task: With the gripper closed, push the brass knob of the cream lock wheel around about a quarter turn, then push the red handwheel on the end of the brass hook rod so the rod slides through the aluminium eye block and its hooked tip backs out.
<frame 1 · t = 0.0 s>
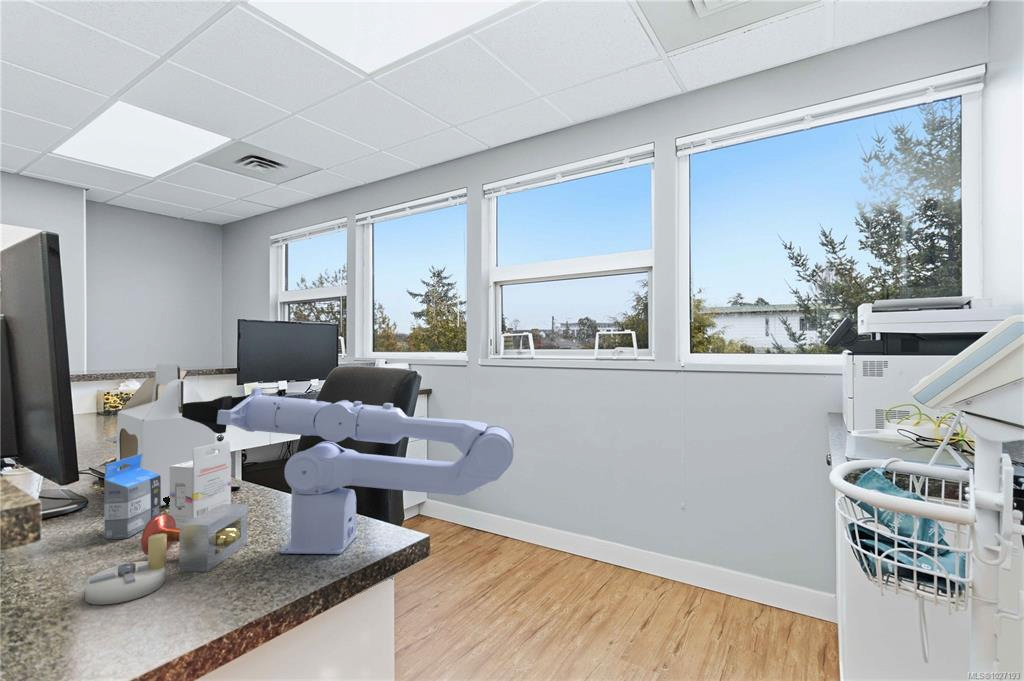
hand: (200, 407, 80), 22 cm above the table, tool horizontal, fingers open, 7 cm apart
eye block: (215, 556, 74), on the table
hook rod: (197, 535, 74), point 3 cm above the table, slide at 0.0 cm
lock wheel: (127, 565, 64), point 3 cm above the table, hinge at 0.0°
ink cartridge box: (200, 529, 86), on the table
label tape box: (133, 531, 85), on the table
gable box: (164, 493, 108), on the table
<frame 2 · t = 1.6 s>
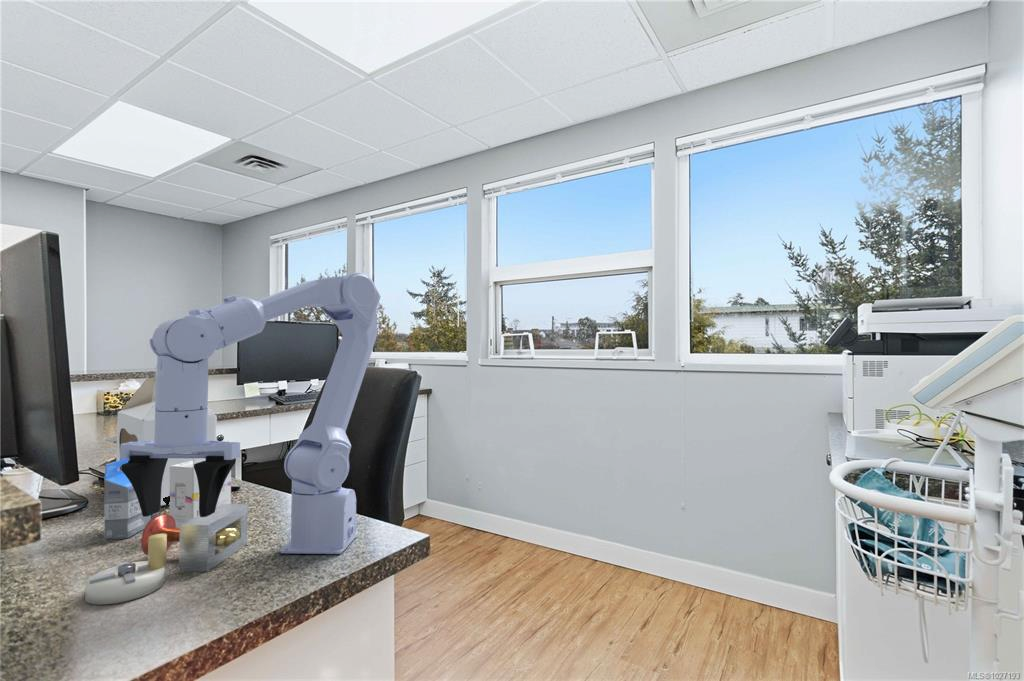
hand: (179, 514, 64), 9 cm above the table, tool pointing down, fingers open, 7 cm apart
nothing on the table moved.
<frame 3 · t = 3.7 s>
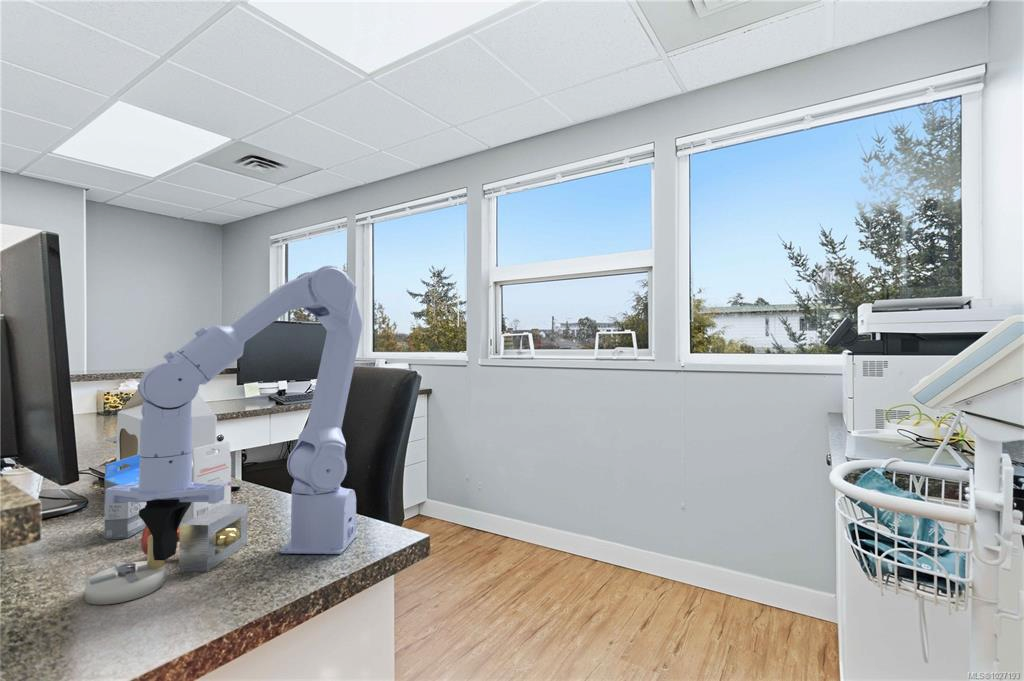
hand: (164, 557, 65), 3 cm above the table, tool pointing down, fingers closed, pressing on lock wheel
lock wheel: (127, 565, 64), point 3 cm above the table, hinge at 5.4°, touching gripper
everything else where it was.
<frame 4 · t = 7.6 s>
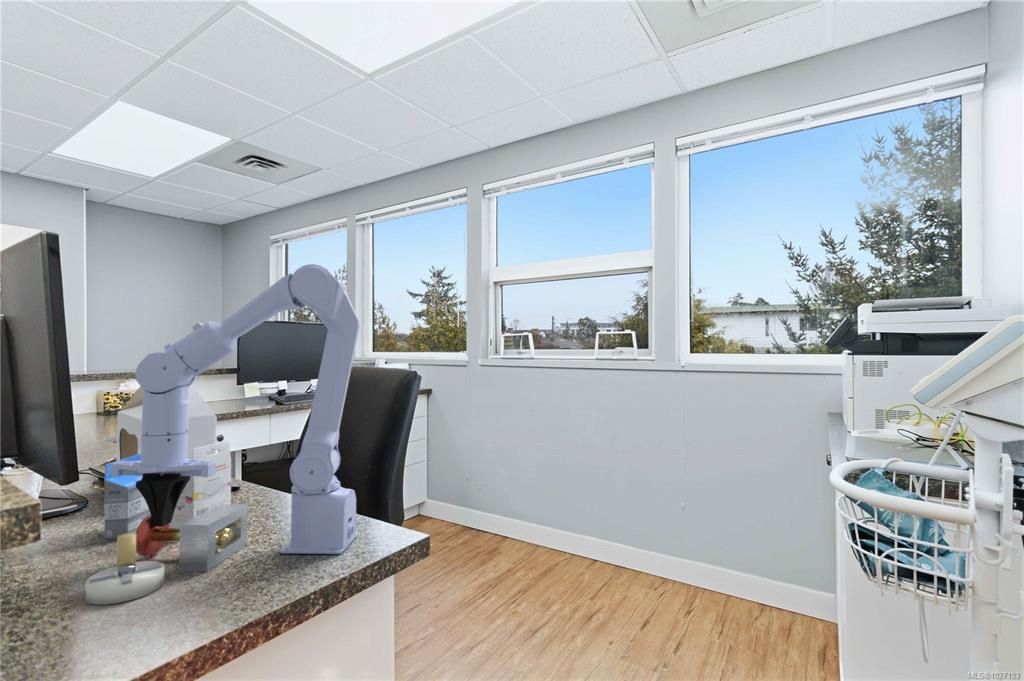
hand: (162, 524, 74), 5 cm above the table, tool pointing down, fingers closed
hook rod: (190, 535, 74), point 3 cm above the table, slide at 1.1 cm, touching gripper
lock wheel: (126, 565, 64), point 3 cm above the table, hinge at 84.5°
everything else where it was.
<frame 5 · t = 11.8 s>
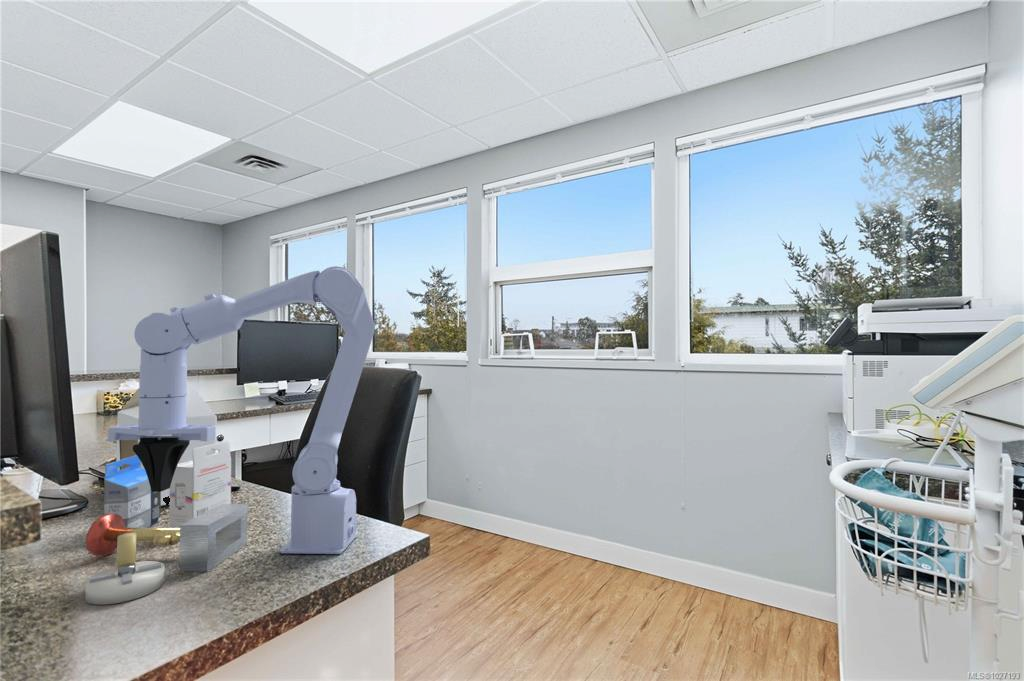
hand: (160, 489, 72), 10 cm above the table, tool pointing down, fingers closed
hook rod: (144, 534, 74), point 3 cm above the table, slide at 8.0 cm
everything else where it was.
at the end: hook rod slide at 8.0 cm; lock wheel at +84° (first picture: +0°) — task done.
